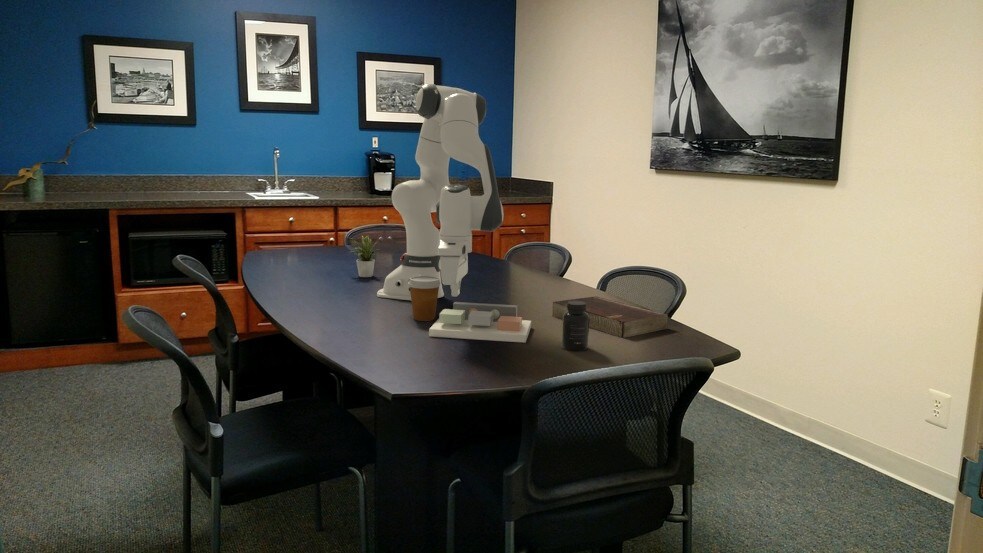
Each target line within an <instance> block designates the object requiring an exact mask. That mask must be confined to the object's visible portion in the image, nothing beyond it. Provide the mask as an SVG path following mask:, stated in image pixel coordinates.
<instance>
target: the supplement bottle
mask: <svg viewBox="0 0 983 553" xmlns="http://www.w3.org/2000/svg"><path fill="white" fill-rule="evenodd" d="M567 310H568V311H567V312H566V313H564V315H563V319H562V329H561V331H562V332H561V334H562V335H561V347H562V348H563V349H564V350H566V351H569V350H570V351H571V352H583V351H587V349H588V348H589V339H590V338H589V336H590V328H589V315H588V314H587V313H586V312H585V311H586V303H585V302H582V301H569V302H568V303H567Z"/></svg>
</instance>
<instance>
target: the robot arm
mask: <svg viewBox="0 0 983 553" xmlns="http://www.w3.org/2000/svg"><path fill="white" fill-rule="evenodd" d="M415 109H416V110H415V111H416V112H417V114H418V115H419V116H420V117H422V118H423V119H424V120H423V123H422V125H421V129H420V133H419V138H418V142H417V146H416V151H415V155H414V158H415V162H416V164H417V165H418V166H419V168H420V169H419V171H420V178H419V179H417V180H414V179H412V180H407V181H404V182H400V183H398V184H397V185H396V186H394V188H393V190H392V192H391V203H392V206H393V208H395V210H396V211H397V212H398V213H399V215H400V216H401V218H402V220H403V224H404V227H405V232H406V236H405V237H406V252H404V253H403V254H402V255H401V256H400V258H399V259H400V260H399V261H400V265H399V266H398V267H397V268H395V269H393V271H391V272H390V273H389V274H388V275H386V277H385V279H384V282H383V288H380V289H378V290H377V293H376V296H377V298H384V299H385V298H386V299H393V300H394V299H395V300H405V301H411V293H410V286H409V284H408V282H409V280H410V278H411V277H416V276H432V277H437V278H439V281H440V283H441V284H440V286H439V290H438V298H437V299H439V298H443V297H444V296H445V293H444V290H443V286H450V290H451V294H450V295H451V297H455V298H456V297H458V296H459V295H460V293H461V292H460V290H461V284H462V283H461V282H462V279H463V278H464V277H465V276H466V275H467V274H468V271H469V266H468V265H469V264H468V262H469V259H468V257H469V256H468V254H469V253H472V252H473V233H472V231H480V232H490V233H492V232H494V231H496V230H497V229H498V228H500V227H501V226H502V225H503V221H504V207H503V204H502V201H501V199H500V195H499V188H498V184H497V178H496V177H497V176H496V174H495V173H496V172H495V168H494V163H493V159H492V158H493V157H492V153H491V150H490V148H489V146H488V145H487V144H486V143H483V141H482V140H481V138H480V135H479V126H480V125H482V124H483V122H484V120H485V118H486V114H487V101H486V99H485V97H484V96H482V95H481V94H479V93H476V92H471V91H468V90H466V89H465V90H464V89H463V88H458V87H451V86H446V85H436V84H435V83H426V84H423V85H422V86H421V87H420V88H419V89H418V91H417V94H416V97H415ZM450 159H453V160H455V161H458V162H460V163H464V164H466V165H469V166H471V167H473V168H475V169H476V170H477V171H478V172H479V173H480V177H481V182H482V187H483V194H482V195H471V190H470V188H469V187H468V186H467V185H466V184H465V185H464V184H459V183H458V184H457V183H455V184H453V183H452V184H450V180H449V164H450ZM431 213H435V217H436V218H435V222H436V223H437V224H438V225H439V226H440V229H439V228H438V227H436V225H435V224H434V223H433V222H434V221H433V218H432V214H431ZM442 284H443V285H442Z"/></svg>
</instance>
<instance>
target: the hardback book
mask: <svg viewBox="0 0 983 553" xmlns="http://www.w3.org/2000/svg"><path fill="white" fill-rule="evenodd" d="M569 301H582V302H585V303H586V311H585V312H586V313H587V314H588V315H589V329H594V330H596V331H599V332H603V333H606V334H609V335H613V336H616V337H619V338H622V339H624V338H628V337H629V338H630V337H634V336H639V335H644V334H648V333H653V332H657V331H663V330H668V327H669V315H668V314H666V313H661V312H658V311H654V310H650V309H646V308H642V307H638V306H635V305H631V304H627V303H623V302H620V301H619V302H618V301H616V300H612V299H607V298H603V297H600V296H587V297H580V298H572V299H565V300H556V301H552V310H551V311H552V316H551V317H553V318H557V319H560V320H563V315H564V313H566V312H567V311H568V310H567V303H568V302H569Z"/></svg>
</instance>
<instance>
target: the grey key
mask: <svg viewBox="0 0 983 553" xmlns="http://www.w3.org/2000/svg"><path fill="white" fill-rule="evenodd" d="M493 316H494V312H487V311H472V312H471V313H470V314H469V316H468V325H483V326H490V325H491V324H492V322H493Z"/></svg>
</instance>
